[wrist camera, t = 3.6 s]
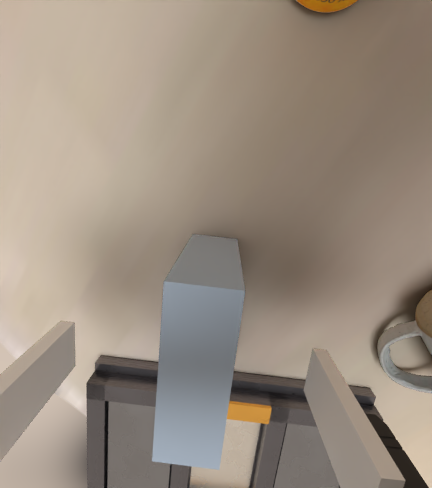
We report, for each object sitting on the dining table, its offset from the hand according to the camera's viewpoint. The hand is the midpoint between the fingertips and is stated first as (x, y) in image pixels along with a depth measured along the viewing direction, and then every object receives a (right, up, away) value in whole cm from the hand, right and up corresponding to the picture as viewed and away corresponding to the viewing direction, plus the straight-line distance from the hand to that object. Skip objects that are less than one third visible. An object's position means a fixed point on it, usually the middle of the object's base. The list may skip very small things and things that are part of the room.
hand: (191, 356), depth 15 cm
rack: (+2, -13, +11) cm, 17 cm away
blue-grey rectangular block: (+1, +2, +8) cm, 8 cm away
